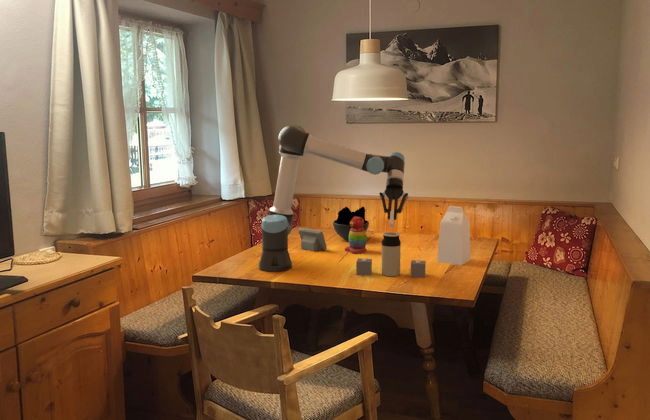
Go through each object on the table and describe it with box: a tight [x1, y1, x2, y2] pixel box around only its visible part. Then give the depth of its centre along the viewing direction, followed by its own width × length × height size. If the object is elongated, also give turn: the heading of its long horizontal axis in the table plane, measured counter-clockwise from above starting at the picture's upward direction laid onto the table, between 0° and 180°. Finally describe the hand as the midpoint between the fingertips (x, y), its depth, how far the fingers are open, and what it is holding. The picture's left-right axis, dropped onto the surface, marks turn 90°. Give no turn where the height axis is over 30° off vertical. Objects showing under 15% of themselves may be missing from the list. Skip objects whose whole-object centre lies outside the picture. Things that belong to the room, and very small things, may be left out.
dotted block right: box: [410, 259, 427, 279], centre depth 252 cm, size 6×6×6 cm
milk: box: [436, 205, 471, 266], centre depth 276 cm, size 12×12×26 cm
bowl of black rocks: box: [332, 206, 370, 241], centre depth 326 cm, size 20×20×19 cm
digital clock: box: [298, 227, 328, 252], centre depth 304 cm, size 16×9×11 cm, turn 38°
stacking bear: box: [344, 216, 368, 255], centre depth 298 cm, size 11×10×18 cm
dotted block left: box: [355, 257, 373, 276], centre depth 256 cm, size 6×6×6 cm
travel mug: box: [381, 231, 402, 278], centre depth 253 cm, size 8×8×18 cm
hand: (391, 225), depth 251 cm, fingers closed
